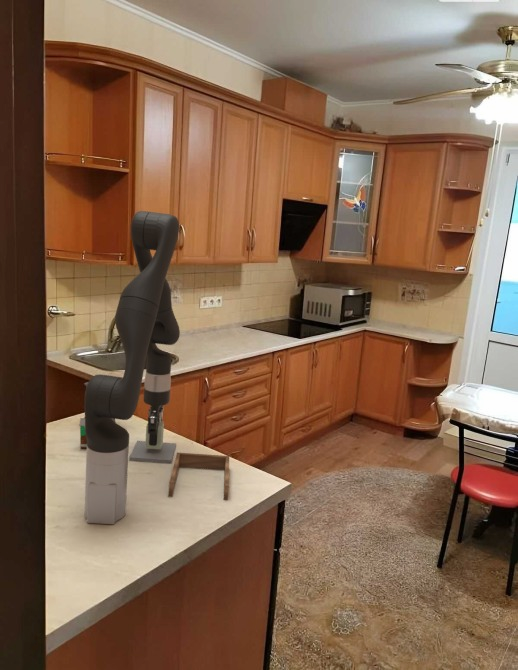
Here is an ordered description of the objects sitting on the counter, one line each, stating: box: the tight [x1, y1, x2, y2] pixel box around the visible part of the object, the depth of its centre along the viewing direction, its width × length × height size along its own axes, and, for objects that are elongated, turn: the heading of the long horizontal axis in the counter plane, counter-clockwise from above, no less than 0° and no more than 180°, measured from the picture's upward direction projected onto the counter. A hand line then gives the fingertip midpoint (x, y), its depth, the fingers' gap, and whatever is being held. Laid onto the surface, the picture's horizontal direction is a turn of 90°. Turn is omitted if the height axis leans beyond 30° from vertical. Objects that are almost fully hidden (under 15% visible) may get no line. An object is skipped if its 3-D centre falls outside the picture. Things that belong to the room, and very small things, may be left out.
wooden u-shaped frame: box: [167, 451, 230, 501], centre depth 139 cm, size 18×15×4 cm
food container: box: [79, 416, 87, 450], centre depth 156 cm, size 12×6×10 cm, turn 179°
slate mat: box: [128, 440, 177, 464], centre depth 154 cm, size 12×12×1 cm
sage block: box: [145, 420, 165, 449], centre depth 153 cm, size 4×4×7 cm
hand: (154, 441), depth 153 cm, fingers closed on sage block, 4 cm apart
